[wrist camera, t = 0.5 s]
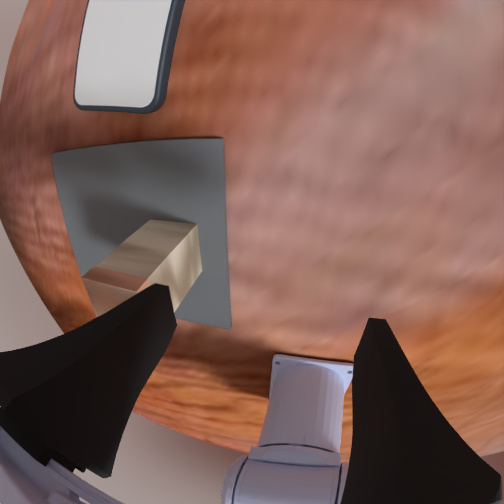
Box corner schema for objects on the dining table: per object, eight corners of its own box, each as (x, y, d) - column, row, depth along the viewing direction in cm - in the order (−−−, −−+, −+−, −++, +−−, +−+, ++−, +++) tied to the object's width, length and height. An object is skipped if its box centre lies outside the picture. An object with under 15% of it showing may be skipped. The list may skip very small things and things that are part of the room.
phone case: (169, 113, 17) (213, -73, 8) (157, 116, 16) (204, -82, 7) (83, 107, 18) (116, -53, 9) (70, 110, 17) (105, -58, 8)
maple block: (202, 271, 22) (154, 346, 15) (157, 264, 23) (102, 328, 16) (198, 223, 20) (136, 291, 13) (149, 218, 21) (81, 277, 14)
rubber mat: (231, 325, 25) (230, 329, 25) (91, 291, 28) (88, 294, 28) (223, 138, 17) (221, 139, 16) (54, 152, 20) (50, 153, 20)
